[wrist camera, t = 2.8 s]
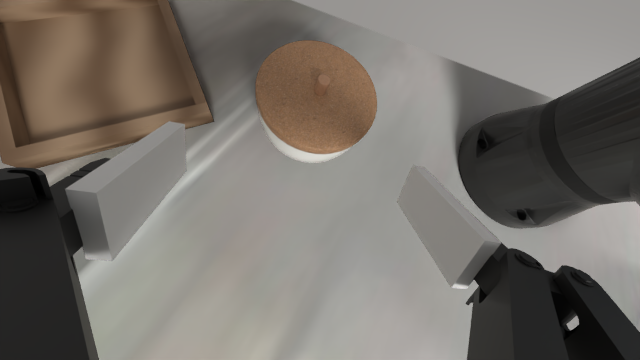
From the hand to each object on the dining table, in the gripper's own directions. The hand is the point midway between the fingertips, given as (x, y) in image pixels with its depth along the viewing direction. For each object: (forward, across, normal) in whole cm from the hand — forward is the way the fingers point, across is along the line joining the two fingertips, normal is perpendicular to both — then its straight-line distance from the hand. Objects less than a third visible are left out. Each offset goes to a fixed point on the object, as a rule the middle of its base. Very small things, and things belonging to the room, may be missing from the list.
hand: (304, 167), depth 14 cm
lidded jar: (+15, +1, -3) cm, 15 cm away
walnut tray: (+16, -20, -1) cm, 25 cm away
